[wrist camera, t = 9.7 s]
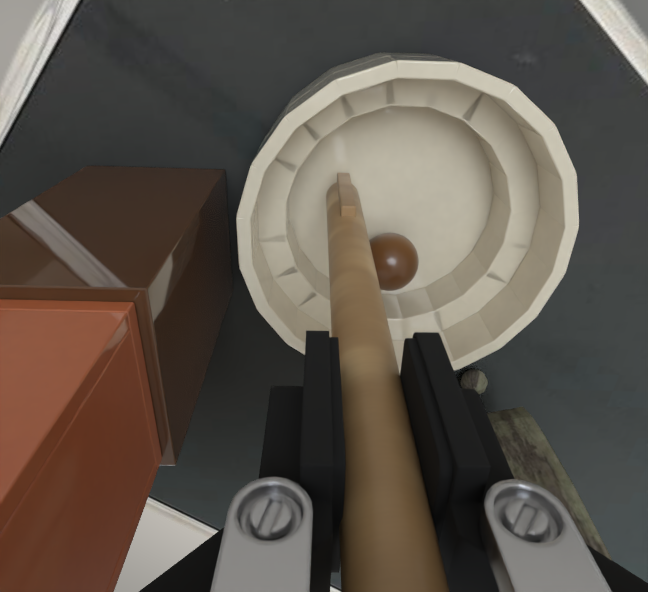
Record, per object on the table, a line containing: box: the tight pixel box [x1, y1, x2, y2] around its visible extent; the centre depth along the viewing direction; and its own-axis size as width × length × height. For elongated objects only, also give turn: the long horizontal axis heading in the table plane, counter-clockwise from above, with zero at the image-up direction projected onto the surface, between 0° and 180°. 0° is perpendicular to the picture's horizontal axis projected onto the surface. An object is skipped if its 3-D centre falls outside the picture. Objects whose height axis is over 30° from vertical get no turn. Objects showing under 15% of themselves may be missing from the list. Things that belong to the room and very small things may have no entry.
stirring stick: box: [326, 173, 450, 592], centre depth 16 cm, size 2×2×20 cm
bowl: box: [236, 52, 579, 373], centre depth 23 cm, size 14×14×6 cm
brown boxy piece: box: [0, 166, 233, 592], centre depth 17 cm, size 7×7×23 cm
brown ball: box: [369, 232, 419, 291], centre depth 25 cm, size 3×3×3 cm
